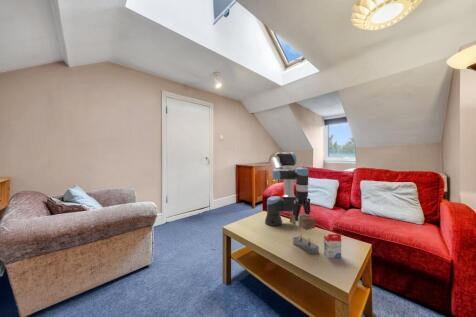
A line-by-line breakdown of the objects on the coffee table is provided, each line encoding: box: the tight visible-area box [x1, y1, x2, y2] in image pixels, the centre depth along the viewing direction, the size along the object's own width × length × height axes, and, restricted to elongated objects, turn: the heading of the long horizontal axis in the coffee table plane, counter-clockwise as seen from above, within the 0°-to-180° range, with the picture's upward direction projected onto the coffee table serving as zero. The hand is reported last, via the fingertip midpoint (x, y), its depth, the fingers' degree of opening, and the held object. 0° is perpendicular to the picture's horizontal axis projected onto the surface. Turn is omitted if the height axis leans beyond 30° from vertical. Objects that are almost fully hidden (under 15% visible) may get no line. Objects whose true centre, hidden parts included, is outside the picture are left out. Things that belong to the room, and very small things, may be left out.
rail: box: [292, 233, 320, 256], centre depth 120 cm, size 16×6×8 cm, turn 30°
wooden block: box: [289, 212, 316, 231], centre depth 121 cm, size 15×7×6 cm, turn 28°
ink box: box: [323, 233, 342, 259], centre depth 111 cm, size 8×5×15 cm, turn 92°
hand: (301, 224), depth 121 cm, fingers closed on wooden block, 7 cm apart
